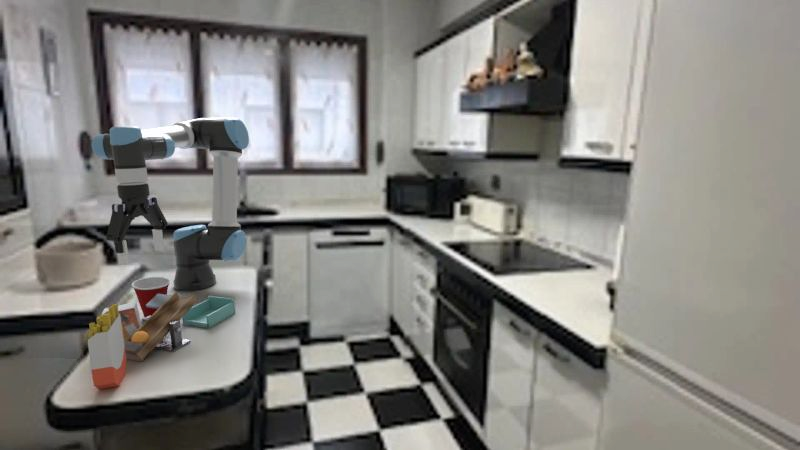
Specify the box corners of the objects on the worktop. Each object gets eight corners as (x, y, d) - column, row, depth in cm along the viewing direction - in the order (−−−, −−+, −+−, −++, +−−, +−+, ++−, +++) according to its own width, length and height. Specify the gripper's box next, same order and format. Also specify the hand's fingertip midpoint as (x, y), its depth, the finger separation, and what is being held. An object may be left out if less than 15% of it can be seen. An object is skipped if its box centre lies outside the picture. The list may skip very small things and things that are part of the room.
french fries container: (93, 396, 98) (81, 321, 94) (107, 372, 108) (96, 303, 104) (116, 392, 99) (105, 318, 96) (128, 368, 109) (118, 301, 106)
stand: (154, 335, 127) (151, 312, 126) (190, 342, 123) (187, 318, 122) (136, 345, 122) (133, 321, 120) (173, 351, 118) (170, 327, 116)
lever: (159, 296, 134) (154, 287, 132) (198, 302, 129) (193, 292, 127) (101, 353, 117) (93, 343, 115) (143, 362, 112) (136, 351, 110)
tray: (210, 309, 146) (209, 295, 145) (235, 313, 143) (234, 298, 142) (182, 324, 135) (181, 308, 134) (209, 328, 132) (207, 312, 131)
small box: (109, 350, 119) (100, 315, 116) (112, 342, 124) (103, 308, 121) (143, 342, 122) (134, 307, 120) (144, 334, 127) (136, 300, 124)
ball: (142, 339, 118) (138, 327, 117) (154, 341, 117) (150, 329, 116) (130, 348, 115) (125, 336, 113) (142, 350, 114) (137, 338, 112)
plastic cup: (157, 324, 135) (153, 288, 132) (128, 322, 137) (122, 285, 135) (181, 311, 145) (177, 276, 143) (153, 308, 147) (149, 275, 145)
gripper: (153, 178, 134) (162, 245, 138) (81, 189, 110) (94, 269, 114) (175, 178, 132) (183, 246, 137) (107, 189, 108) (119, 270, 113)
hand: (142, 257), depth 126 cm, fingers open, 13 cm apart
